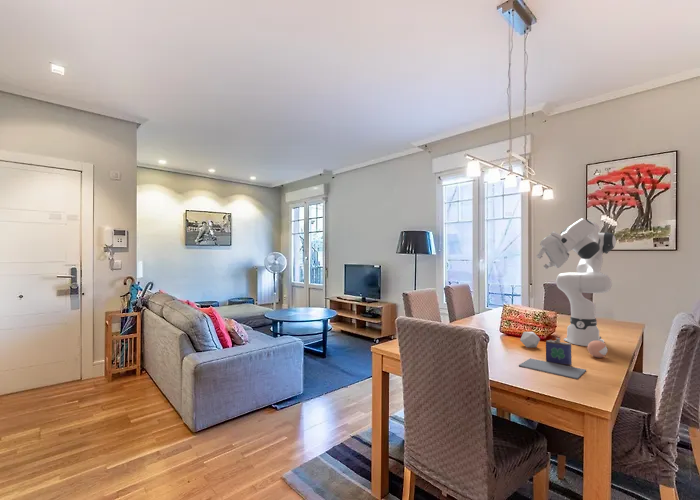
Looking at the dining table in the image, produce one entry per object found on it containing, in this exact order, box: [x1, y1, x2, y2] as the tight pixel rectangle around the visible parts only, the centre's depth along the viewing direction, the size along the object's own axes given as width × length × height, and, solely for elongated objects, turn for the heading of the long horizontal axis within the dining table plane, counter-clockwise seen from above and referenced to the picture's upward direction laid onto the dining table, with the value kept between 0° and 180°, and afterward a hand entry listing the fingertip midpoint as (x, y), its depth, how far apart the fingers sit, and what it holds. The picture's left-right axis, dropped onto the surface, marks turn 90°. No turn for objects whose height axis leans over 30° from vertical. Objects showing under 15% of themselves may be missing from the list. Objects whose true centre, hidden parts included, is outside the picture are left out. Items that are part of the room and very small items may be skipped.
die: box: [519, 331, 541, 349], centre depth 181 cm, size 8×9×10 cm
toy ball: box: [587, 340, 608, 359], centre depth 162 cm, size 8×8×8 cm
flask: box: [545, 337, 573, 367], centre depth 153 cm, size 10×3×12 cm, turn 51°
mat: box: [518, 358, 587, 380], centre depth 146 cm, size 14×22×1 cm, turn 43°
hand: (541, 262), depth 172 cm, fingers open, 8 cm apart
